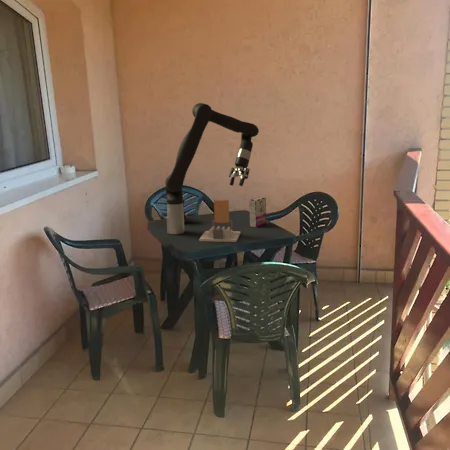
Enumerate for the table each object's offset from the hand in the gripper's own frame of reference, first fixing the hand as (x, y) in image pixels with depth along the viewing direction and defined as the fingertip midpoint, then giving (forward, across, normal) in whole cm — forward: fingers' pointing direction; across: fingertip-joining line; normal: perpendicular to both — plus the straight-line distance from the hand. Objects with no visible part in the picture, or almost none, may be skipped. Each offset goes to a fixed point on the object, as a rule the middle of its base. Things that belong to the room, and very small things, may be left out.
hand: (235, 185), depth 281 cm
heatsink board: (+31, +4, -5) cm, 32 cm away
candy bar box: (+17, -1, +25) cm, 30 cm away
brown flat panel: (+23, +1, -4) cm, 23 cm away
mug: (+26, -43, -4) cm, 50 cm away
